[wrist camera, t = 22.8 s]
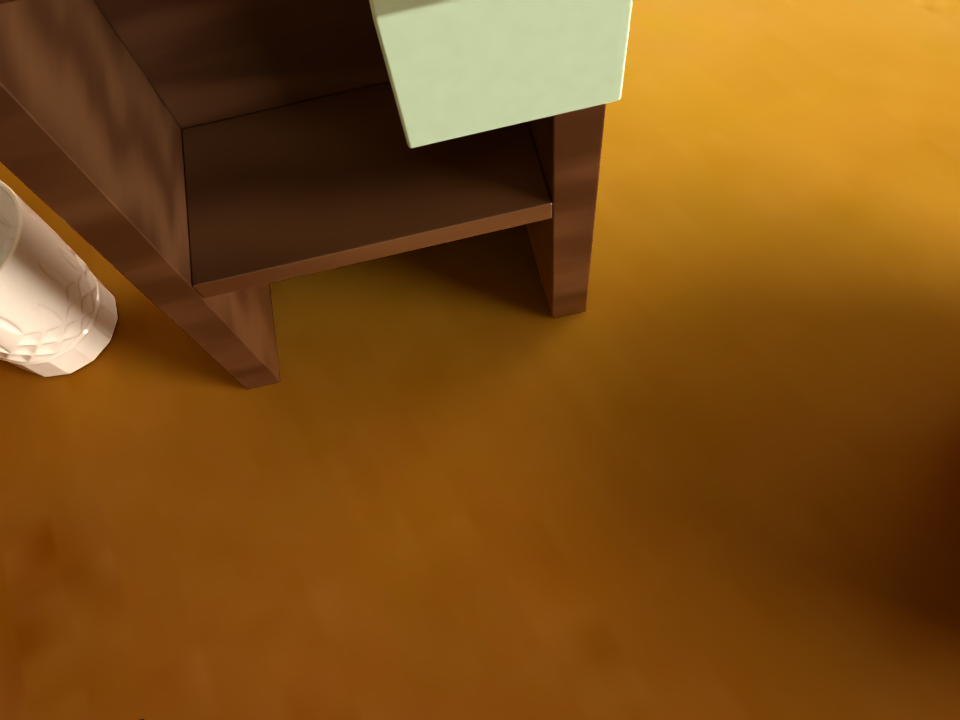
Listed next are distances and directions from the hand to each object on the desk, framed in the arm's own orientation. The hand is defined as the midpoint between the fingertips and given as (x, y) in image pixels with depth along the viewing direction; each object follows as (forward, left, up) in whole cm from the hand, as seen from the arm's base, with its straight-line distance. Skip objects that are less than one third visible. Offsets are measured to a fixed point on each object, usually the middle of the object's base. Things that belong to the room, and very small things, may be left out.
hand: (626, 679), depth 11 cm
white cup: (-34, -9, -28) cm, 45 cm away
